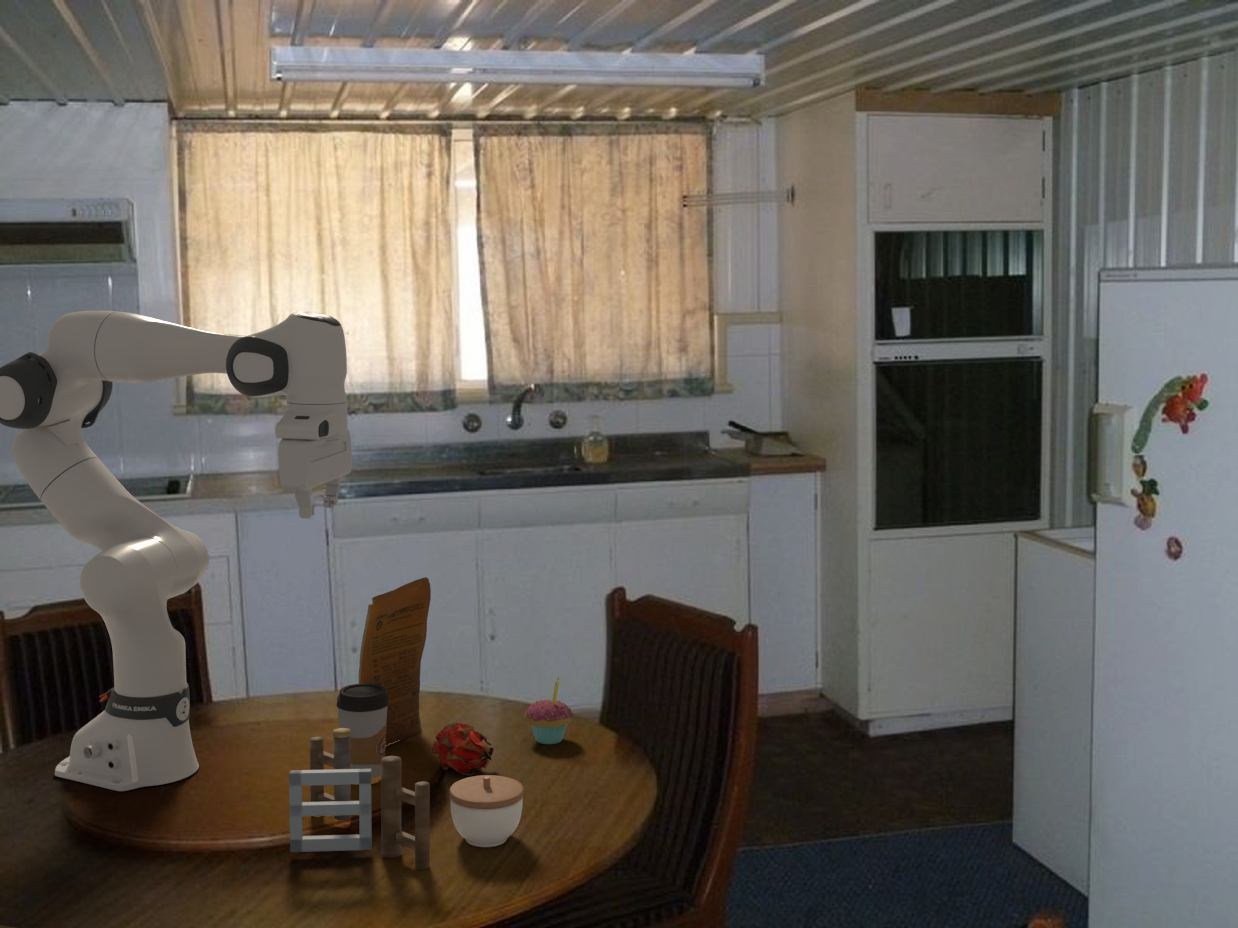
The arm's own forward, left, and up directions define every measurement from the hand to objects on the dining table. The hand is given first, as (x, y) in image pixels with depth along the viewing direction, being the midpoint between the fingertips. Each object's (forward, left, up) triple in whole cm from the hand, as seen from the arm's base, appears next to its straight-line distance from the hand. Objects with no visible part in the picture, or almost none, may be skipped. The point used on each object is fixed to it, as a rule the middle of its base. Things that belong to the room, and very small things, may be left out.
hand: (318, 512), depth 205 cm
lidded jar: (+29, -6, -46) cm, 55 cm away
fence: (+13, -12, -46) cm, 49 cm away
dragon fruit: (+16, +19, -46) cm, 52 cm away
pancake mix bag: (-1, +29, -46) cm, 54 cm away
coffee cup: (+2, +10, -46) cm, 47 cm away
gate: (+10, -18, -45) cm, 49 cm away
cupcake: (+25, +37, -46) cm, 64 cm away
